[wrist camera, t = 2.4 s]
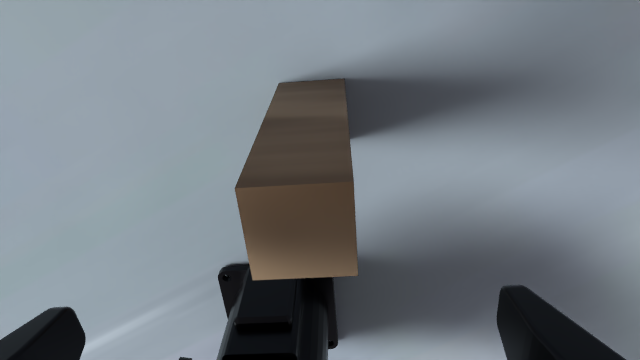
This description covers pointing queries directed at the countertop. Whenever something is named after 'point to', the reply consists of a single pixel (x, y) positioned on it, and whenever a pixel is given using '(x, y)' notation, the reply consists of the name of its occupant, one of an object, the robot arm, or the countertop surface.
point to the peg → (300, 186)
